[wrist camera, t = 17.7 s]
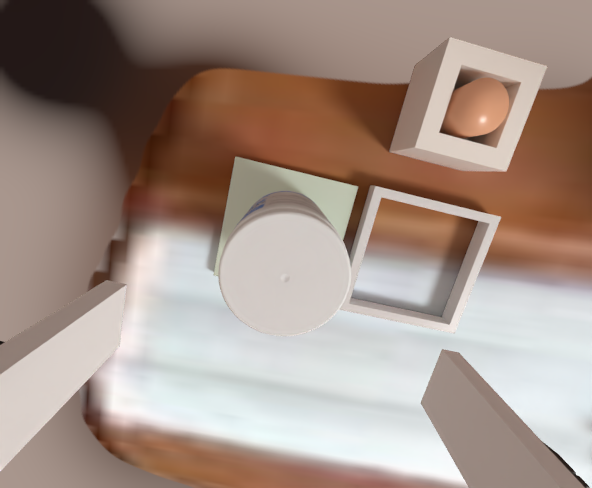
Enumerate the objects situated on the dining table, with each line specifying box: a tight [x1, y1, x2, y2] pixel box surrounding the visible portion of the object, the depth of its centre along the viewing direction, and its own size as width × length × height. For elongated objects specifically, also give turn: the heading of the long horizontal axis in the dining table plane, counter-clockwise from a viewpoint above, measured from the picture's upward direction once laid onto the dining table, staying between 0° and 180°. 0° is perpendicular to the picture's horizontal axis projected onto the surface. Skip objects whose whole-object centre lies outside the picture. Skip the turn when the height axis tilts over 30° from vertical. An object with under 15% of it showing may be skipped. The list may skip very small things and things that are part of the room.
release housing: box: [389, 37, 547, 171], centre depth 30 cm, size 9×9×7 cm
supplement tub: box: [218, 191, 351, 336], centre depth 28 cm, size 10×10×15 cm
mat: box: [214, 156, 358, 276], centre depth 35 cm, size 14×14×1 cm
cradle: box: [339, 185, 501, 333], centre depth 36 cm, size 15×15×2 cm
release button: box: [439, 77, 509, 138], centre depth 28 cm, size 5×5×5 cm
